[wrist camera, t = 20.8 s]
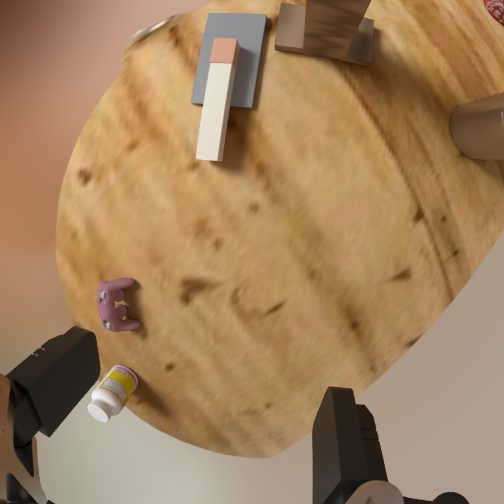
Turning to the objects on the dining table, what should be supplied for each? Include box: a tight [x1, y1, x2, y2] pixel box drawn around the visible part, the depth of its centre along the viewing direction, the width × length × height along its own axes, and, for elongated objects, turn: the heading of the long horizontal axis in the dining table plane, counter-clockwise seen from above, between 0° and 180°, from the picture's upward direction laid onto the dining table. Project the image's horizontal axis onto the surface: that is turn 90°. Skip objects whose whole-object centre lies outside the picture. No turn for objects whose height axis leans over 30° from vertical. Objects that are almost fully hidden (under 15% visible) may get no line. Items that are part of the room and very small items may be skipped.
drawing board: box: [191, 13, 267, 109], centre depth 37 cm, size 9×16×1 cm, turn 172°
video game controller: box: [97, 278, 141, 332], centre depth 48 cm, size 10×5×7 cm, turn 179°
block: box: [196, 38, 240, 161], centre depth 37 cm, size 3×18×3 cm, turn 172°
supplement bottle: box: [88, 365, 138, 422], centre depth 50 cm, size 7×7×13 cm
